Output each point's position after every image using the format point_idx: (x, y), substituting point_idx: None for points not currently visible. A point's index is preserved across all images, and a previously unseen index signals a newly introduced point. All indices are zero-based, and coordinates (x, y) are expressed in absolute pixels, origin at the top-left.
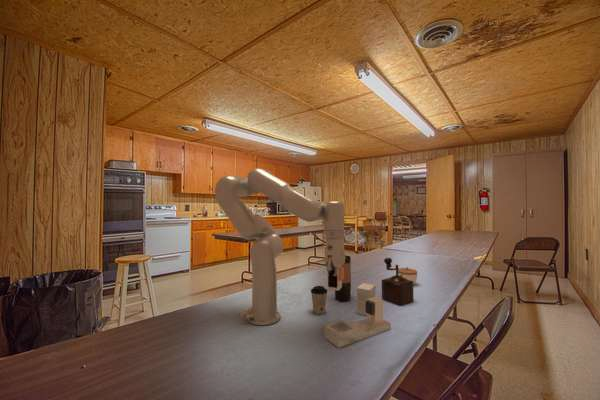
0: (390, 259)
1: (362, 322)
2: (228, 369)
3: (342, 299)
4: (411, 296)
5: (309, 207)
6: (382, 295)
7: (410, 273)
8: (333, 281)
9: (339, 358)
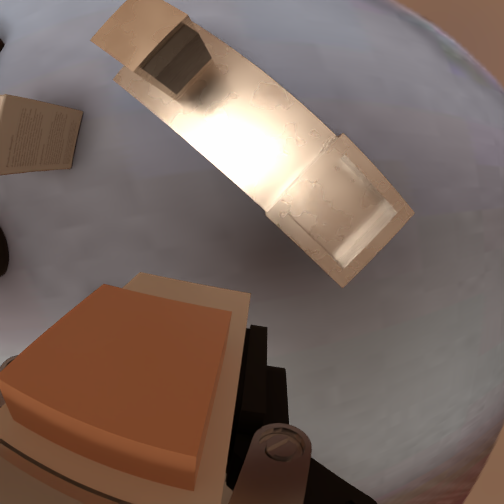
0: None
1: (197, 119)
2: (469, 416)
3: (1, 248)
4: None
5: None
6: None
7: None
8: (286, 397)
9: (447, 201)
